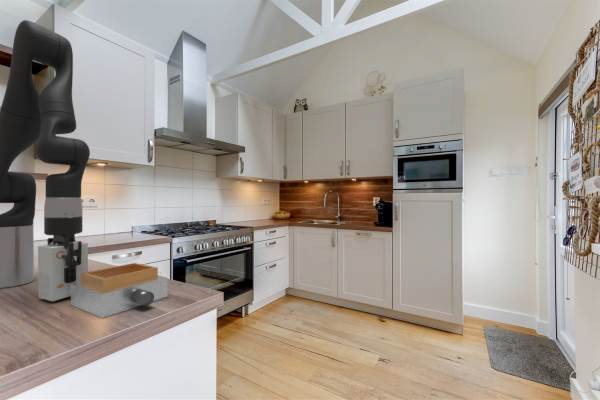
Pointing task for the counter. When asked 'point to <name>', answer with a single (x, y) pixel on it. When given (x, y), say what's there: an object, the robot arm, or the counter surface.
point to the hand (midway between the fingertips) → (64, 279)
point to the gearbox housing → (118, 289)
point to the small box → (57, 271)
